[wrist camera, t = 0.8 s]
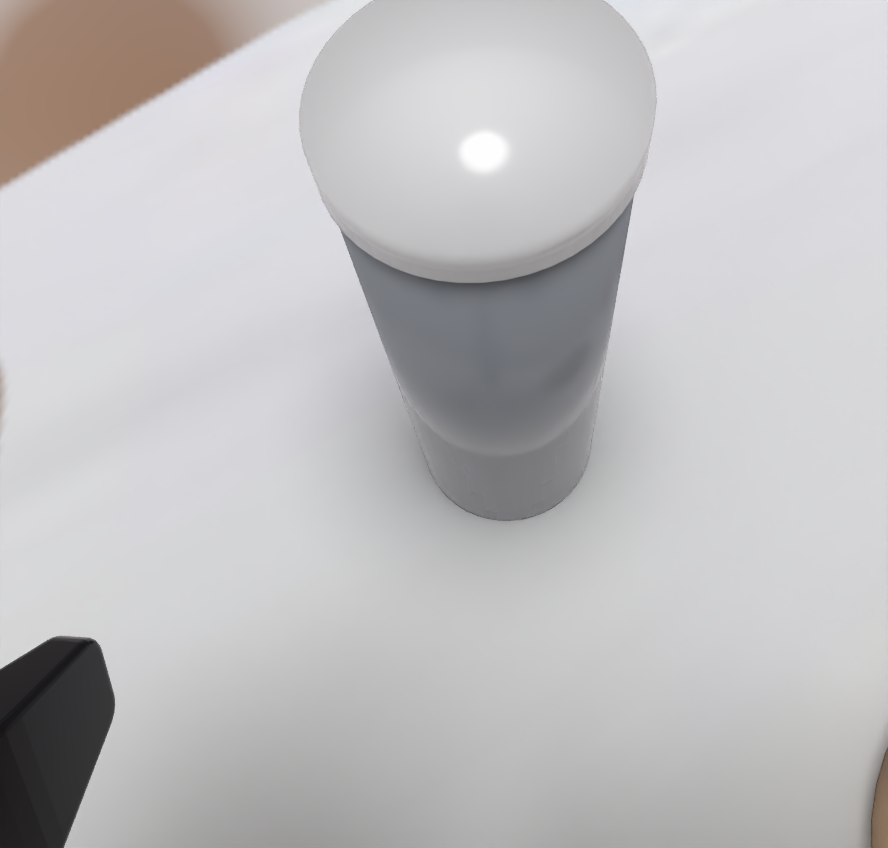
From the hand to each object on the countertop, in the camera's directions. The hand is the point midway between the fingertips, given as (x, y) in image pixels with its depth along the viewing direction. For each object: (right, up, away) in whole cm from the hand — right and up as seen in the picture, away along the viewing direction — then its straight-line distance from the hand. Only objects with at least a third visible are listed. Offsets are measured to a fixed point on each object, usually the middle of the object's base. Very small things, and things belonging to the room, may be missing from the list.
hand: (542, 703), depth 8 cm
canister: (+1, +2, +17) cm, 17 cm away
